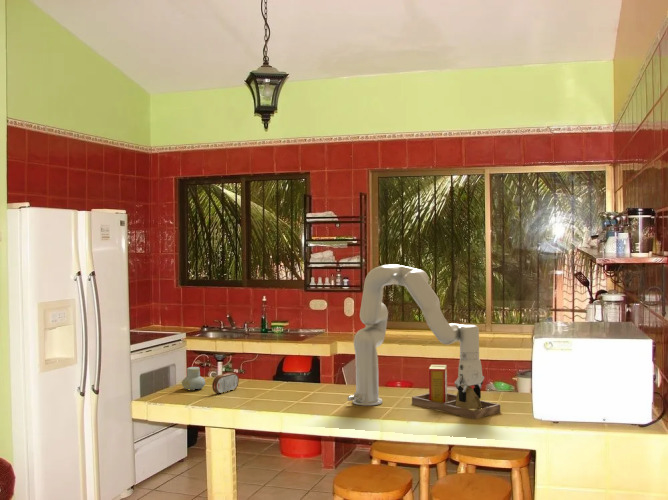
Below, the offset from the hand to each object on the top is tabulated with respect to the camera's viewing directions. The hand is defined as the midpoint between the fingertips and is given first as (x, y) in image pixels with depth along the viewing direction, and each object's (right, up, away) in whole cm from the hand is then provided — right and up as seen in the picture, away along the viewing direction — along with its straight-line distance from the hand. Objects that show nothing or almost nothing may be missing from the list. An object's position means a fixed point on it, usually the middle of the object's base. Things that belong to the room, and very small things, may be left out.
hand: (469, 399), depth 277 cm
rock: (-1, -4, 0) cm, 4 cm away
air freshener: (-120, -6, +49) cm, 130 cm away
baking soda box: (-11, -5, +13) cm, 18 cm away
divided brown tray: (-5, -5, +6) cm, 9 cm away
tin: (-104, -6, +42) cm, 112 cm away
